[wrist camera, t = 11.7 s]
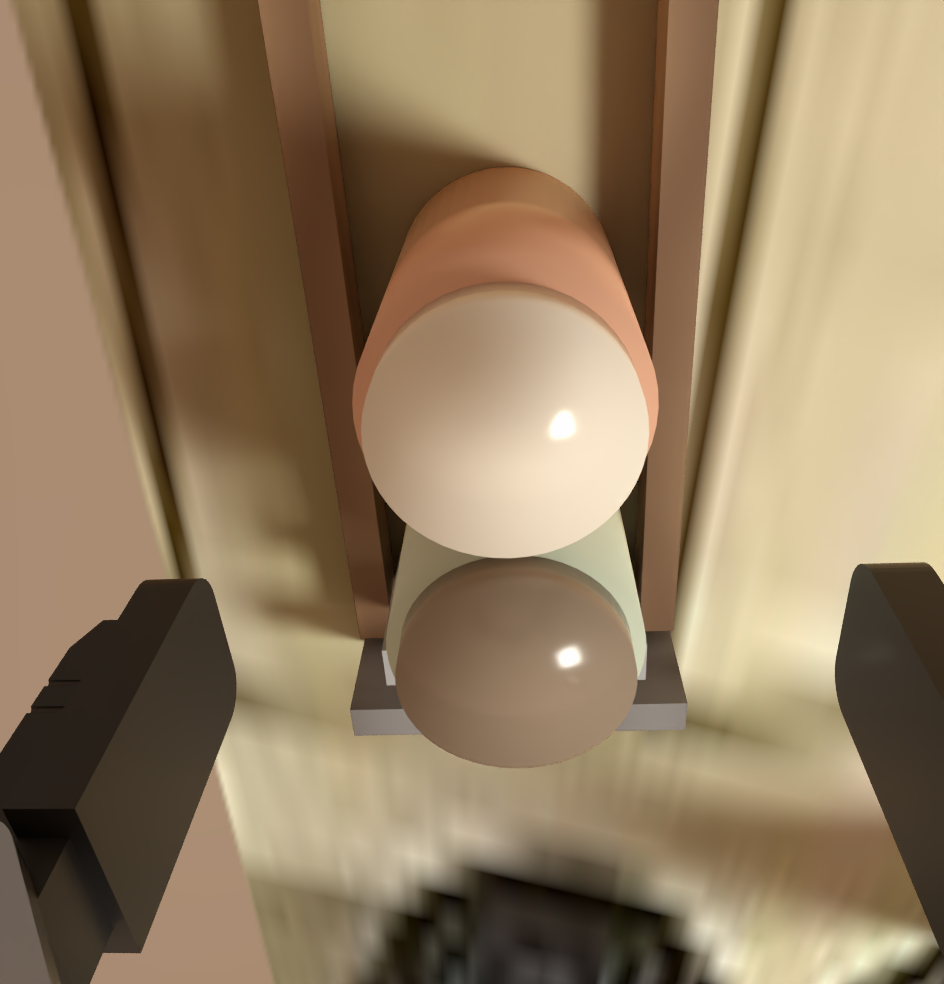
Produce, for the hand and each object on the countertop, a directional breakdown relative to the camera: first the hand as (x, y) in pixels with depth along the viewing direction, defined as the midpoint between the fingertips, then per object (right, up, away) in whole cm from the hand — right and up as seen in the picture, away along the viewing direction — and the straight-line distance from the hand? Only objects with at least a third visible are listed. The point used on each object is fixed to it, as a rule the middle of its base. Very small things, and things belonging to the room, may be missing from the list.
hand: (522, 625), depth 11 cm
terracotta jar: (0, +7, +11) cm, 13 cm away
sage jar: (+1, +3, +14) cm, 14 cm away
